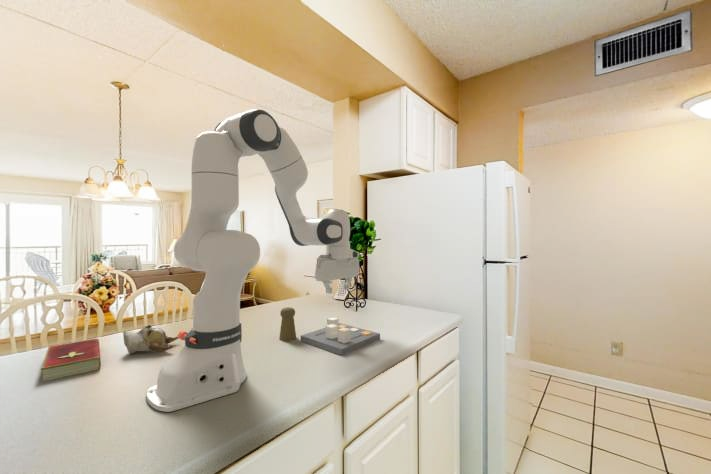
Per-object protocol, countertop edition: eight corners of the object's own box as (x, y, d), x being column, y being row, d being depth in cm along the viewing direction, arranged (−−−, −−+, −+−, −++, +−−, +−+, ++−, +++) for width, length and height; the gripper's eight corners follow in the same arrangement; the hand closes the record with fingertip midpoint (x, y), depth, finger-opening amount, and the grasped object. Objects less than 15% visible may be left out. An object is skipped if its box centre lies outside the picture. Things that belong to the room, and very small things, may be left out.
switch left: (332, 331, 115) (332, 320, 115) (327, 329, 117) (327, 318, 117) (338, 329, 118) (338, 318, 118) (332, 327, 120) (332, 317, 120)
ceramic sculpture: (129, 321, 105) (180, 320, 110) (128, 347, 105) (178, 344, 110) (117, 331, 95) (173, 329, 100) (115, 359, 95) (171, 356, 100)
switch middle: (331, 339, 107) (331, 327, 106) (325, 337, 108) (325, 325, 108) (337, 337, 109) (337, 325, 109) (331, 335, 111) (331, 324, 111)
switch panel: (341, 355, 98) (341, 348, 98) (300, 341, 111) (300, 334, 111) (380, 339, 113) (380, 333, 113) (339, 328, 126) (339, 322, 126)
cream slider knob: (344, 343, 103) (344, 331, 103) (337, 341, 105) (337, 329, 104) (350, 341, 105) (350, 329, 105) (344, 339, 107) (344, 327, 107)
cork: (298, 335, 117) (298, 306, 117) (293, 341, 111) (293, 310, 111) (282, 335, 118) (282, 305, 117) (276, 340, 112) (276, 309, 111)
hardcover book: (99, 349, 105) (99, 337, 105) (100, 370, 89) (100, 355, 89) (49, 358, 97) (48, 345, 97) (40, 383, 81) (40, 367, 81)
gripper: (323, 255, 106) (323, 296, 107) (361, 252, 122) (361, 288, 122) (311, 254, 111) (311, 293, 111) (349, 252, 126) (349, 286, 126)
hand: (338, 291), depth 117 cm, fingers open, 8 cm apart
